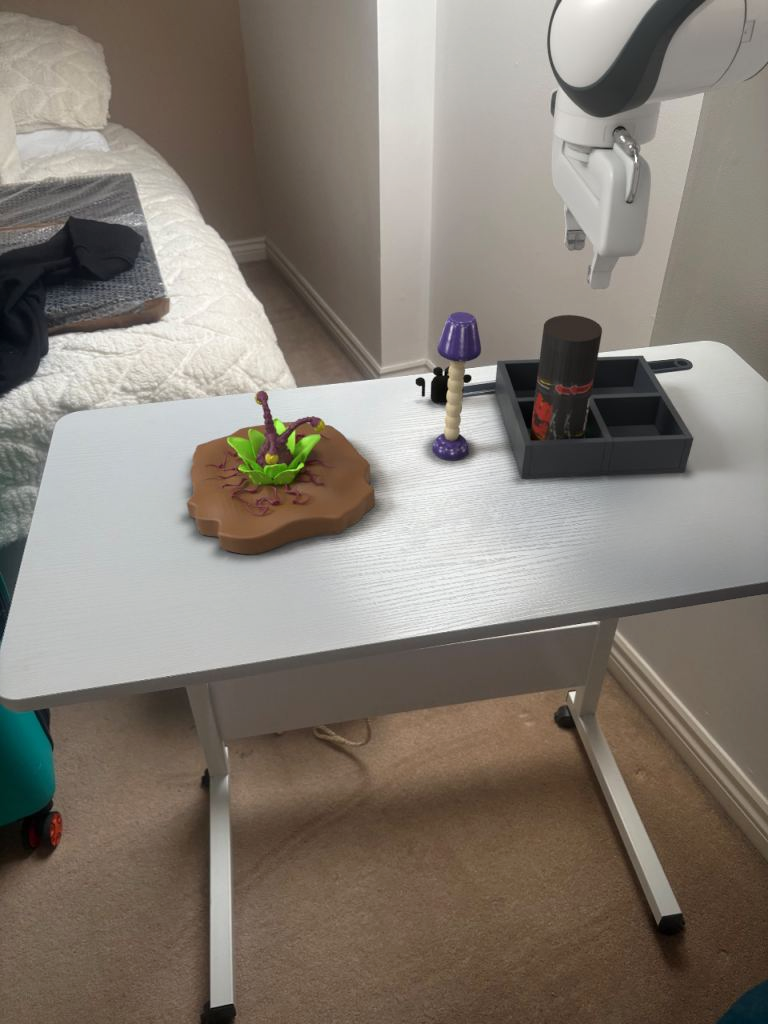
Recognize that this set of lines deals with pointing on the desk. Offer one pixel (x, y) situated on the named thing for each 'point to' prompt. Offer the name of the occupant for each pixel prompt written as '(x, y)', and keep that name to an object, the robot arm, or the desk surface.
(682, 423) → the compartment tray
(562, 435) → the deodorant
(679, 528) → the desk surface
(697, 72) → the robot arm
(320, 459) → the plant
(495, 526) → the desk surface
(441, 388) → the wireless earbuds
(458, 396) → the toy lamp
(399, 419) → the desk surface
